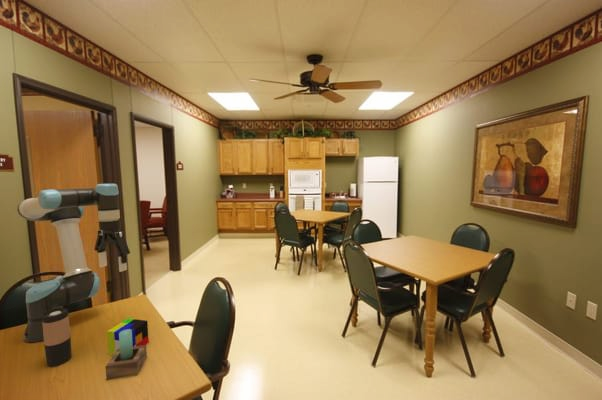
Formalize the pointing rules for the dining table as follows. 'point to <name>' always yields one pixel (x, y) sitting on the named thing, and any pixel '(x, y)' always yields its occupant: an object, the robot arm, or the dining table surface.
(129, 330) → the teal dowel
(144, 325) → the puzzle toy
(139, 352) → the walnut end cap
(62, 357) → the travel mug
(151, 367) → the dining table surface
